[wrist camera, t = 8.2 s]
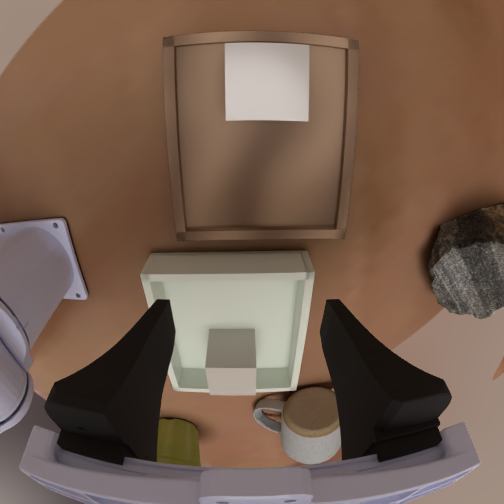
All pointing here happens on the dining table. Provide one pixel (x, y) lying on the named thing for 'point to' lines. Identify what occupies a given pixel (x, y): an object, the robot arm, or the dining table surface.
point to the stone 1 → (231, 362)
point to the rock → (470, 263)
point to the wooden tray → (259, 144)
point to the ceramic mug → (305, 424)
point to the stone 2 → (266, 81)
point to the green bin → (234, 309)
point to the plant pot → (178, 443)
